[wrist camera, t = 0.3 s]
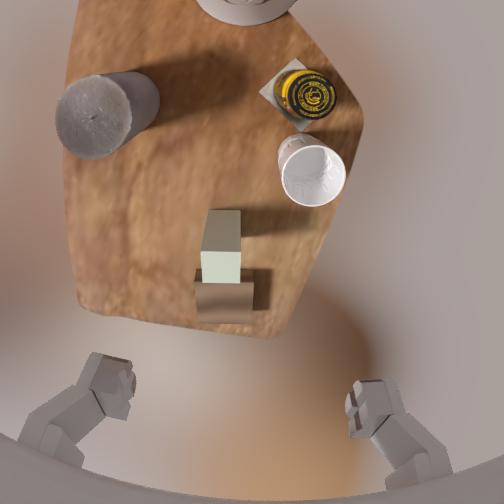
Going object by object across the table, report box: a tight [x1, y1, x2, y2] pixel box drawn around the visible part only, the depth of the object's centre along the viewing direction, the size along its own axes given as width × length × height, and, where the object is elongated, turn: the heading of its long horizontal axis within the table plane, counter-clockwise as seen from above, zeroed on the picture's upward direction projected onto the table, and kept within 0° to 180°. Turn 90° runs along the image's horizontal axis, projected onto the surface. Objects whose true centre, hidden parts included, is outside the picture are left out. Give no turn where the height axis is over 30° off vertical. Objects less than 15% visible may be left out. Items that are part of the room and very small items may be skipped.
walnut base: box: [194, 269, 254, 324], centre depth 57 cm, size 10×10×4 cm
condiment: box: [259, 58, 337, 132], centre depth 35 cm, size 7×8×12 cm
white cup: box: [278, 133, 346, 207], centre depth 41 cm, size 8×8×10 cm
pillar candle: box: [55, 72, 160, 160], centre depth 33 cm, size 10×10×15 cm
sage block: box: [201, 210, 241, 283], centre depth 46 cm, size 5×5×12 cm
